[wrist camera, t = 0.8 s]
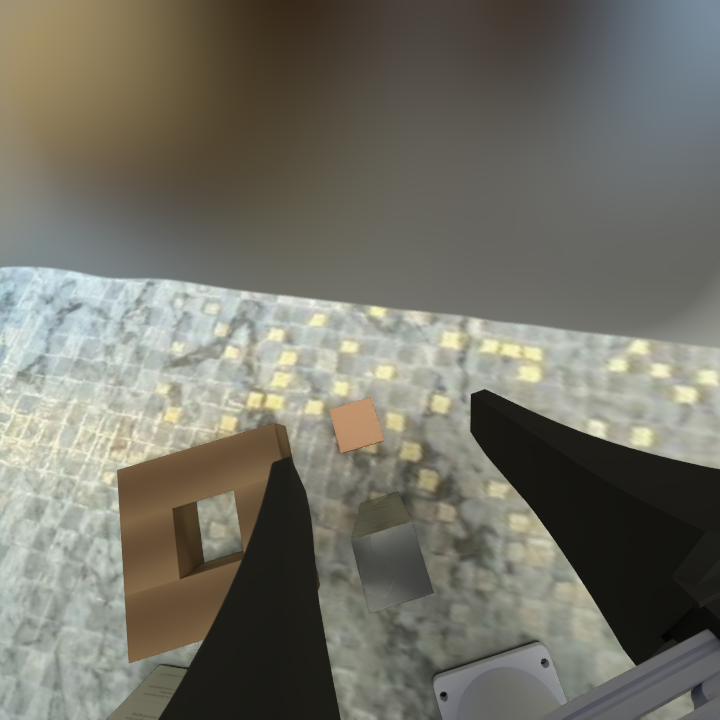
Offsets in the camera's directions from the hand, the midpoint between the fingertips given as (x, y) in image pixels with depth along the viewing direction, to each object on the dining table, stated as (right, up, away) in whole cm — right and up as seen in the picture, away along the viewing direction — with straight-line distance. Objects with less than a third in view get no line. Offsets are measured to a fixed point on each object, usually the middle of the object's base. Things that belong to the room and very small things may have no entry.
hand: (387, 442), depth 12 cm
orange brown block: (-1, -3, +14) cm, 14 cm away
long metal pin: (+1, -9, +12) cm, 15 cm away
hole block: (-11, -10, +12) cm, 19 cm away
